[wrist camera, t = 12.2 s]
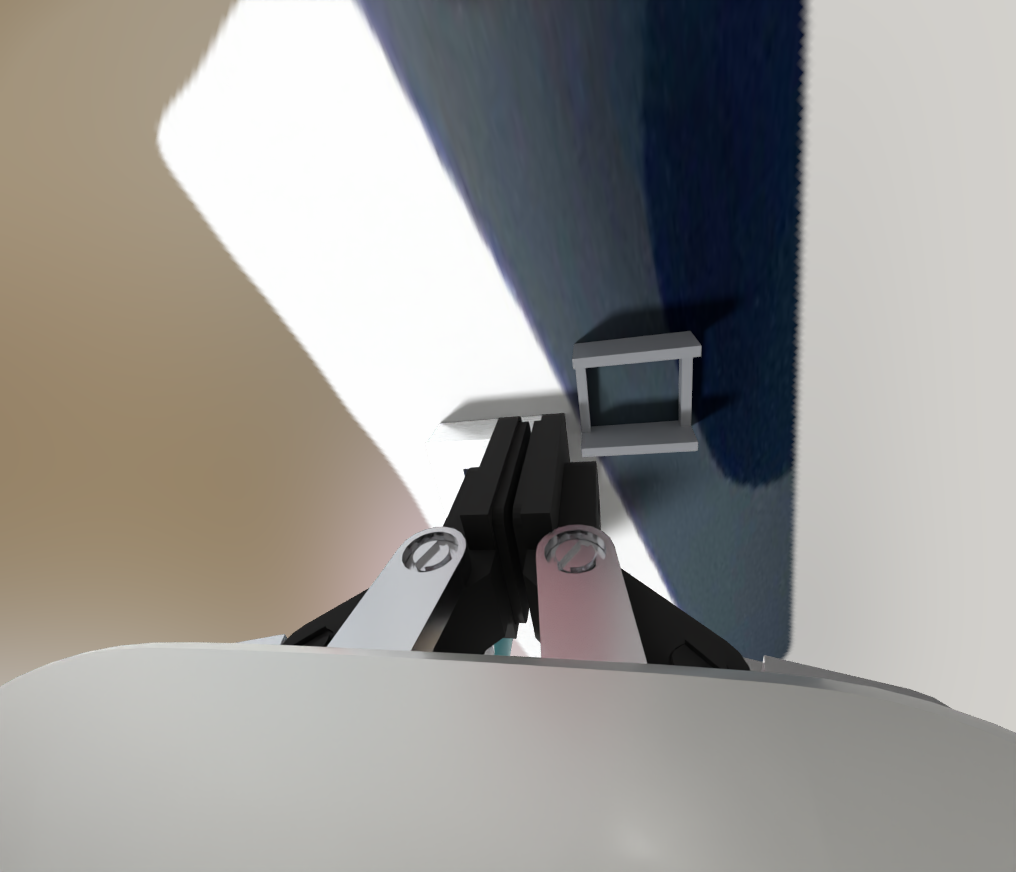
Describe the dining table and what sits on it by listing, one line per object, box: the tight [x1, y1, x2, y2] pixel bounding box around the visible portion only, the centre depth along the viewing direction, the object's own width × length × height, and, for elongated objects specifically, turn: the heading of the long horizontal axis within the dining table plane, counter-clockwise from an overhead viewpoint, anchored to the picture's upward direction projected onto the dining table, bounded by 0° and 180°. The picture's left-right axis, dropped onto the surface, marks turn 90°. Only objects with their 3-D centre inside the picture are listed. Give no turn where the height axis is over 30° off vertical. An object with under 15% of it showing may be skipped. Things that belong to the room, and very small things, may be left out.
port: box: [426, 414, 565, 517], centre depth 42 cm, size 12×12×5 cm
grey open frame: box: [572, 331, 701, 457], centre depth 36 cm, size 9×9×4 cm
